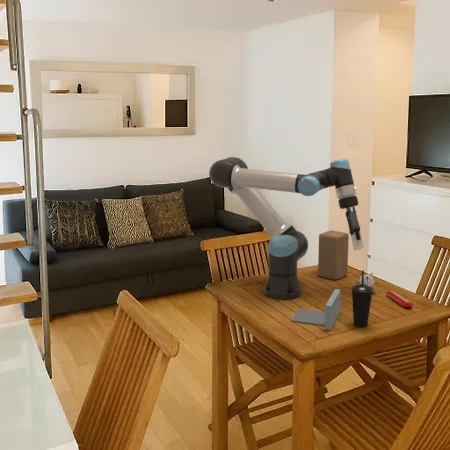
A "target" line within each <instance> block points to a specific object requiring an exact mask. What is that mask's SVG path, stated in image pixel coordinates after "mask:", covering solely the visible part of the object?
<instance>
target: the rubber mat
mask: <svg viewBox="0 0 450 450" xmlns="http://www.w3.org/2000/svg"><path fill="white" fill-rule="evenodd" d="M290 322H291V323H292V322H293V323H298V324H304V325H312V326H321V327H325V311H320V310H313V309H306V308H298V310H297V311H296V312H295V313H294V315H293V316H292V318H291V319H290Z"/></svg>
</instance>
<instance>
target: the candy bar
mask: <svg viewBox="0 0 450 450" xmlns="http://www.w3.org/2000/svg"><path fill="white" fill-rule="evenodd" d="M385 294H386V296H387V297H388V298H389V299H391V300H392V301H394V302H395V303H397V304H399V305H400V306H401V307H403V308H406V309H411V308H412V309H413V308H414V307H413V303H412V301H410V300H408V299H407V298H405V297H404V296H403V295H401V294H399V293H398V292H395V291H393V290H387V292H386V293H385Z"/></svg>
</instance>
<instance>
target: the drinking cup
mask: <svg viewBox="0 0 450 450" xmlns="http://www.w3.org/2000/svg"><path fill="white" fill-rule="evenodd" d="M361 274H362V283H361V284H354V285H352V286H350V289H351V297H352V300H351V301H352V316H353V317H352V320H353V325H354V326H355V327H359V328H364V327H365V328H366V327H367V326H368V324H369V318H370V311H371V305H372V296H373V294H372V292H374V288H373V287H371V286H369V285H366V284H363V283H364V275H365V270H364V269H363V270H361Z"/></svg>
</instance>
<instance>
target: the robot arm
mask: <svg viewBox="0 0 450 450" xmlns="http://www.w3.org/2000/svg"><path fill="white" fill-rule="evenodd" d="M329 165H330V166H329V167H328V168H325V169H322V170H318V171H314V172H310V173H309V172H308V174H300V173H294V172H293V173H292V172H283V171H282V172H281V171H273V170H263V169H252V168H249V167H248V164H247V162H246V161H245V160H244V159H242V158H240V157H235V156H230V157H227V158H224V159H223V158H222V159H220V160H219V159H218V160H217V161H215V162H214V163H213V164H211V166H210V169H209V175H208V176H209V179H210V180H211V183H212V184H214V185H215V186H216V187H217V188H218V187H219V188H224V189H225V188H226V189H227V190H228V191H229V192H230V193H231V194H236V195H237V196H238V197H239V199H240V200H241V202H243V203H244V205H245V206H246V207H247V208H248V210H249V211H250V212H251V214H252V215H253V217H255V218H256V219H257V221H258V222H259V223H260V225H261V226H262V227H263V228H264V229H265V231H266V232H267V234H269V236H270V240H269V242H268V248H267V250H268V276H267V279H266V282H265V285H264V288H263V290H264V291H263V294H264V295H265V296H266V297H268V298H271V299H276V300H292V299H296V298H299V297H300V296H301V294H302V287H301V284H300V282H299V277H298V261H300V259H302V258H303V257H304V256H305V255H306V253H307V251H308V250H309V240H308V238H307V236H306V235H305V234H304V233H303V232H302V231H299V230H297V229H296V228H295V227H294V225H293V224H289V223H286V221H285V220H284V218H283V217H281V215H280V214H279V213H278V212H277V211H276V209H275V208H274V206H272V204H271V203H270V202H269V201H268V200H267V198H266V197H265V196H264V195H263V193H262V192H261V191H260V190H267V191H268V190H269V191H279V192H287V193H294V194H300V195H303V196H306V197H311V196H314V195H315V194H317V193H318V192H320V191H321V190H324V189H327V188H331V187H334V189H335V192H336V197H337V199H338V207H339V209H340V210H344V209H345V210H346V211H345V217H346V220H347V221H346V222H347V226H348V231H349V234H350V238H351V242H352V246H353V251H354V252H355V251H359V250H361V249H365V246H364V241H363V238H362V237H363V236H362V232H361V225H360V223H359V220H358V215H357V210H356V208H355V207H357V206H358V205H359V201H358V200H359V199H358V197H357V192H356V190H357V188H358V187H355V182H354V177H353V173H352V169H351V165H350V163H349V160H348V159H346V158H341V159H340V158H339V159H335V160H333V161H331V162H330V163H329Z"/></svg>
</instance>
